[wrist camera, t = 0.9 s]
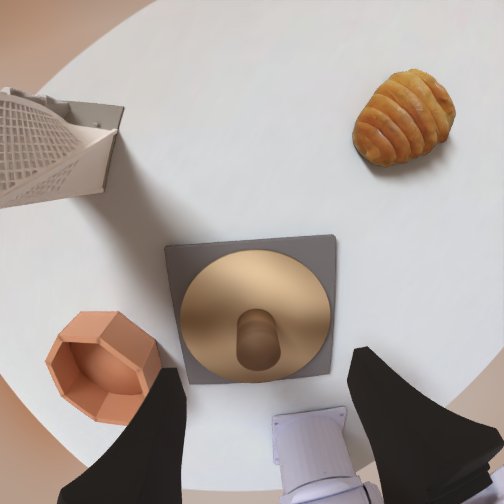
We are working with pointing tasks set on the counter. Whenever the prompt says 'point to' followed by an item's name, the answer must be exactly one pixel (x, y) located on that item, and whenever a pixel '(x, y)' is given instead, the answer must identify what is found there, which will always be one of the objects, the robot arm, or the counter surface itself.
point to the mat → (200, 255)
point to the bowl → (104, 366)
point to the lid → (255, 316)
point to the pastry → (404, 119)
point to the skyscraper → (53, 147)
